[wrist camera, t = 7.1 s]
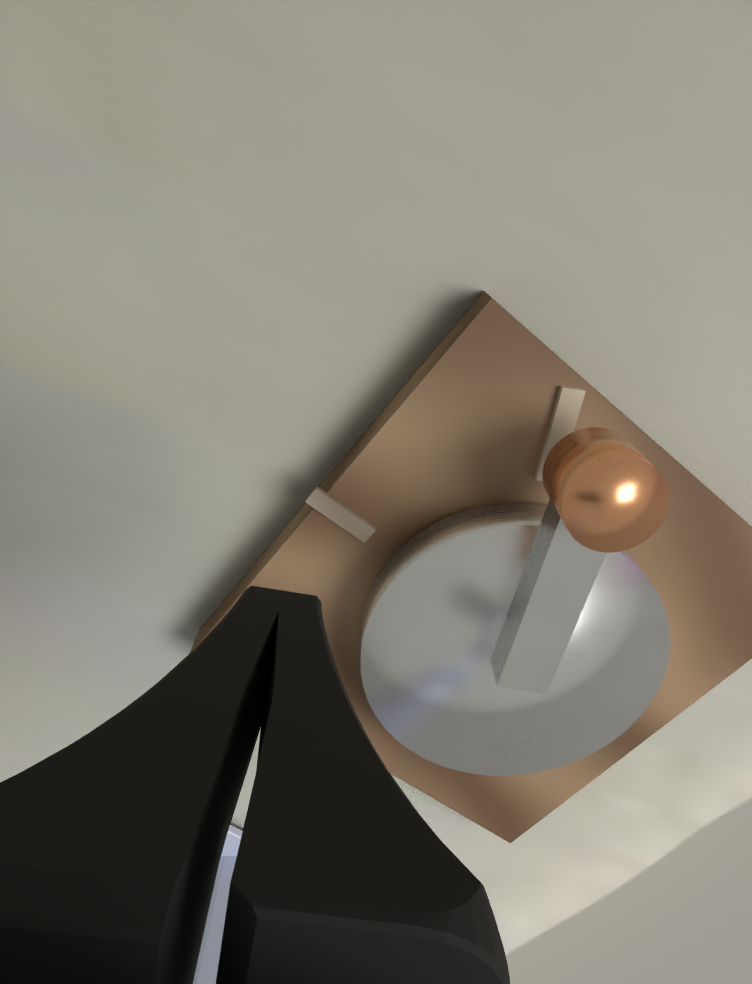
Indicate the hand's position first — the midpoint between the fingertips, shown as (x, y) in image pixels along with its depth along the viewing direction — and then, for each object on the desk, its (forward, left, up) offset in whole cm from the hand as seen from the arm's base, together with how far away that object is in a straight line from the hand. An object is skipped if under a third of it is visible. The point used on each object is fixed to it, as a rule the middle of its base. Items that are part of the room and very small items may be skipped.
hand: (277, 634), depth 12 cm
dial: (0, -8, -9) cm, 12 cm away
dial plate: (-1, -9, -10) cm, 14 cm away
